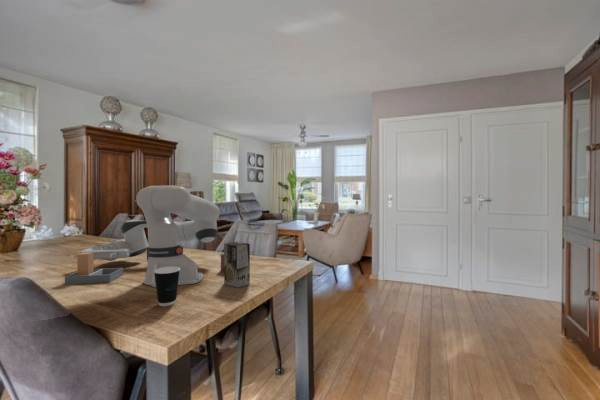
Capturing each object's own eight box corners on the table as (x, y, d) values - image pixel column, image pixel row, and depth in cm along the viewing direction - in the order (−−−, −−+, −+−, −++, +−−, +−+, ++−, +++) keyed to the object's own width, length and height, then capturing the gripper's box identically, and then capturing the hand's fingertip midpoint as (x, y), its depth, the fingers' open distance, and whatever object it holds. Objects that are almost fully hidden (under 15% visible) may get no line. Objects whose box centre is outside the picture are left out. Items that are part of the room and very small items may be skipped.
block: (93, 276, 122) (93, 252, 122) (88, 278, 118) (88, 254, 118) (83, 276, 121) (82, 252, 121) (77, 279, 117) (77, 254, 117)
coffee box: (250, 284, 113) (250, 243, 113) (236, 288, 109) (236, 245, 108) (237, 279, 120) (237, 241, 119) (223, 283, 115) (223, 242, 115)
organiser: (123, 274, 127) (123, 267, 127) (110, 282, 116) (110, 274, 116) (82, 276, 125) (82, 269, 125) (64, 284, 113) (64, 276, 113)
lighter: (238, 270, 134) (238, 249, 134) (234, 272, 131) (234, 250, 131) (223, 269, 137) (223, 248, 137) (219, 270, 134) (219, 249, 134)
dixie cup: (161, 298, 97) (161, 266, 97) (184, 299, 97) (184, 266, 97) (148, 307, 89) (148, 272, 89) (173, 308, 89) (173, 272, 89)
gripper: (134, 256, 144) (122, 263, 130) (89, 258, 141) (72, 265, 127) (134, 244, 144) (122, 249, 130) (89, 245, 141) (71, 251, 127)
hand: (97, 257), depth 129 cm, fingers open, 8 cm apart
